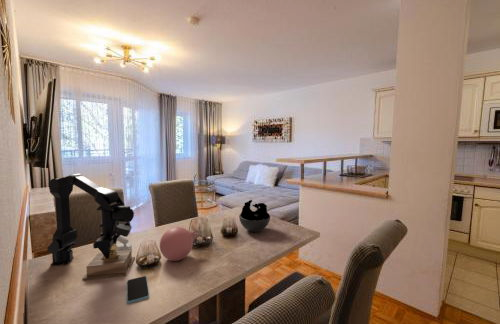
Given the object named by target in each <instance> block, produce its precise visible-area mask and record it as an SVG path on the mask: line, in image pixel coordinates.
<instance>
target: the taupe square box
mask: <svg viewBox="0 0 500 324" xmlns="http://www.w3.org/2000/svg"><path fill="white" fill-rule="evenodd" d="M117 253H118V259H109V260H103V254H102V252H98V253H97V254H96V255H95V256H94V257H93V258H92V260H91V261H90V262H89V263H88V264H87V265H86V273H85V275H84V276H83V278H82V281H89V280H90V281H92V280H99V279H108V278H118V277H126V276H127V274H128V272H129V270H130V268H131V267H132V264H133V263H134V260H135V258H136V257H135V256H132V255H133V254H132V249H131V250H125V251H117Z"/></svg>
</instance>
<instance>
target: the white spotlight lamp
mask: <svg viewBox="0 0 500 324" xmlns="http://www.w3.org/2000/svg"><path fill="white" fill-rule="evenodd" d="M117 242H119V243H116V245H117V251H125V250H132V249H133V245H132V242H130V241H129V239H128V237H124V236H122V235H120V236H119V237H118V239H117Z"/></svg>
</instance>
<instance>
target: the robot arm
mask: <svg viewBox="0 0 500 324" xmlns="http://www.w3.org/2000/svg"><path fill="white" fill-rule="evenodd" d="M74 186H75V187H77V188H79V189H80V190H82V191H83V192H85V193H87V194H89V195H90V196H92V197H93V199H94V202H95V203H96V204H98V205H99V206H98V207H97V208H96V211H100V218H101V220H100V221H101V223H100V224H99V228H101V233H100V234H99V236H100V237H98V238H97V239H96V240H95V241H94V242H93V245H92V246H93V249H98V250H99V251H100V253H102V254H103V255H104V256H105V258H109V255H110V248H111V246H112V245H113V244H118V243H117V242H118V241H117V239H118V237H119V236H120V235H122V236H124V237H125V238H128V236H129V235H130V233H131V230H132V228H133V227H132V225H131V222H132V220H133V219H134V216H135V212H134V210H133V209H132V208H131V206H130V205H125V203H124V202H123V200H122V199H121V197H120V195H119V193H118V192H117V191H116V190H114V189H111V188H105V187H101V185H98V184H97V183H95V182H94V181H92V180H91V179H88V178H87V177H85V176H84V175H83V174H81V173H74V174H73V173H72V174H70V175H67V176H64V177H56V178H52V179H50V181H48V190H49V193H50V194H51V195H52V196H53V197H54V202H55V203H54V204H55V216H56V217H55V219H56V229H55V231H54V234H53V236H52V242H51V243H50V244H49V245H48V246H47V248H46V249H47V252H48V253H50V254H51V256H52V262H51V263H50V266H58V265H59V266H60V265H67V264H69V262H71V260H73V259H74V255H73V252H74V251H73V249H72V247H73V246H75V244H76V241H77V239H78V234H77V233H78V231H77V229H74V228H73V227H72V222H71V208H70V207H71V206H70V196H71V194H72V192H73V189H74ZM120 222H121V223H120Z"/></svg>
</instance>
